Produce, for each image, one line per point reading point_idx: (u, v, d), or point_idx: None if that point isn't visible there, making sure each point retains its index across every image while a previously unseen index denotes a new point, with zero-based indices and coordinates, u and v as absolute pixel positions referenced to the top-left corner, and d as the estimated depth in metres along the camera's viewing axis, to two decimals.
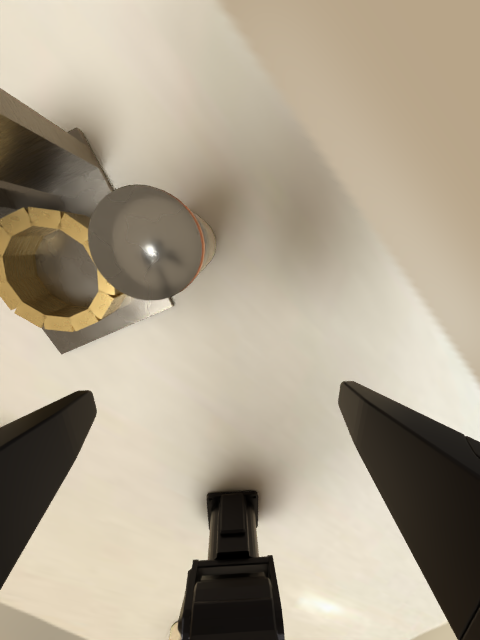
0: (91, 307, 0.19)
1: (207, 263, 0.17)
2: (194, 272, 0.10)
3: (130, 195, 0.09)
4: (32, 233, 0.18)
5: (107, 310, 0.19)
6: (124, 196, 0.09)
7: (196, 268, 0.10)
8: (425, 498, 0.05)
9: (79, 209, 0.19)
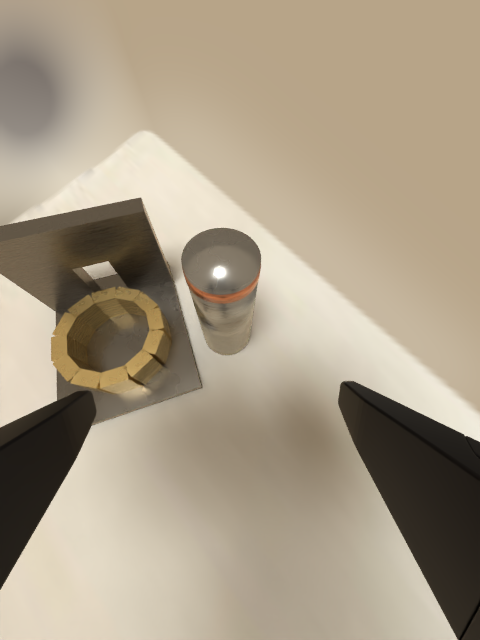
0: (128, 364, 0.19)
1: (247, 328, 0.19)
2: (254, 274, 0.13)
3: (218, 232, 0.15)
4: (107, 308, 0.23)
5: (141, 370, 0.19)
6: (215, 232, 0.15)
7: (256, 271, 0.13)
8: (425, 498, 0.05)
9: None
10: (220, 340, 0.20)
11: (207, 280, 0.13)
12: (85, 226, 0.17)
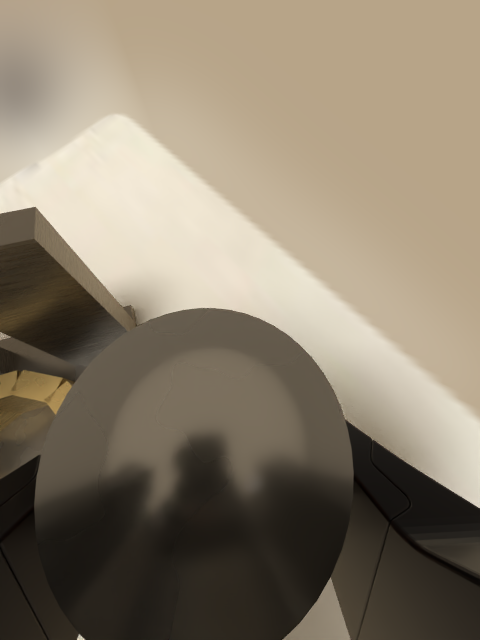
0: None
1: None
2: (338, 543, 0.03)
3: (195, 324, 0.04)
4: (6, 407, 0.12)
5: None
6: (183, 325, 0.04)
7: (343, 526, 0.03)
8: None
9: None
10: None
11: (129, 597, 0.03)
12: None
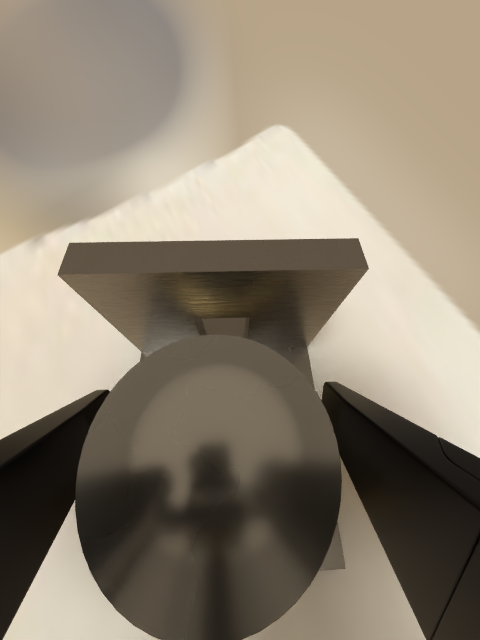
0: None
1: None
2: (328, 539, 0.04)
3: (206, 350, 0.05)
4: None
5: None
6: (195, 350, 0.05)
7: (332, 526, 0.04)
8: (397, 500, 0.05)
9: None
10: None
11: (158, 583, 0.03)
12: (257, 274, 0.09)
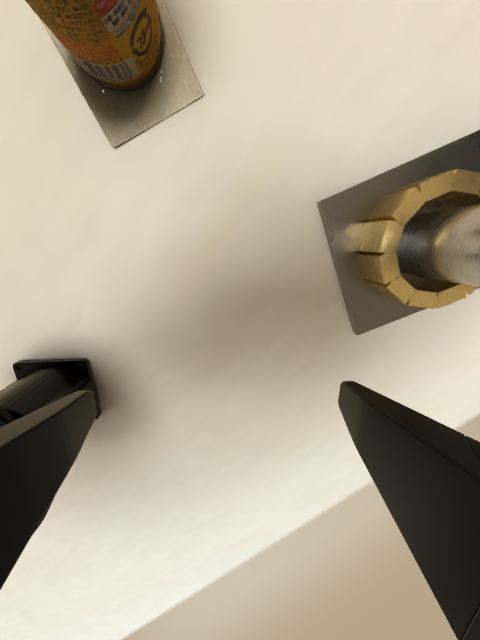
0: (401, 279, 0.17)
1: (444, 280, 0.16)
2: None
3: None
4: None
5: (391, 293, 0.18)
6: None
7: None
8: (425, 498, 0.05)
9: None
10: (420, 252, 0.16)
11: None
12: None
